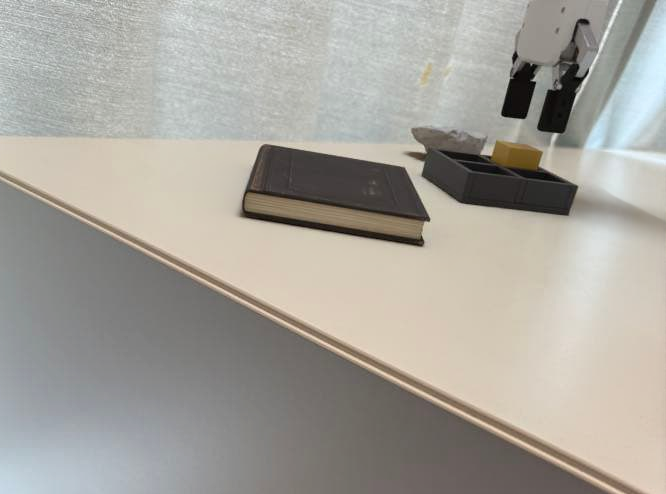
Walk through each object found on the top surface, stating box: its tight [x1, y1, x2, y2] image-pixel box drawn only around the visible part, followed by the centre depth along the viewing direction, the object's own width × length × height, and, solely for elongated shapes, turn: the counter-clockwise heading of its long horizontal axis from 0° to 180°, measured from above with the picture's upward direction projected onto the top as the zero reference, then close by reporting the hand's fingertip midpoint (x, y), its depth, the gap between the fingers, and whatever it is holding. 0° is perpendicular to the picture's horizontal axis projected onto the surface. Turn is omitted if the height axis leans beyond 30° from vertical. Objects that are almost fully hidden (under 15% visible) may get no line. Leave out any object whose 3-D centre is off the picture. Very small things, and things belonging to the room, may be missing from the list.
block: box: [491, 139, 544, 170], centre depth 93 cm, size 4×4×4 cm
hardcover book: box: [241, 143, 431, 246], centre depth 76 cm, size 16×23×2 cm
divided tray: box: [421, 147, 579, 216], centre depth 91 cm, size 13×13×3 cm
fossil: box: [410, 125, 488, 155], centre depth 106 cm, size 9×6×10 cm
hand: (530, 124), depth 91 cm, fingers open, 9 cm apart
